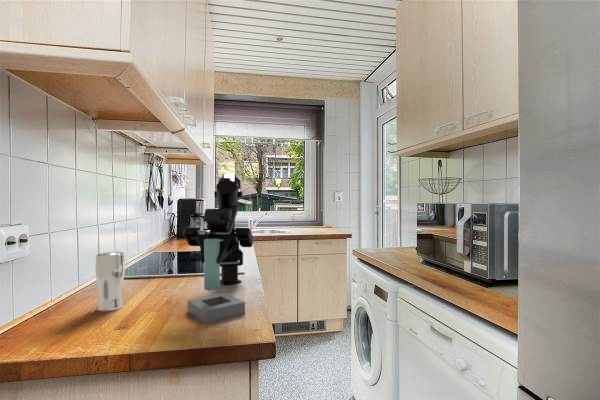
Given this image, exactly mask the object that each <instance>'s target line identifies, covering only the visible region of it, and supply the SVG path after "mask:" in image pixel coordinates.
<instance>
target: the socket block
mask: <svg viewBox="0 0 600 400" xmlns="http://www.w3.org/2000/svg"><path fill="white" fill-rule="evenodd" d="M187 312H188V313H189V314H191V315H192V316H193V317H195V318H196V319H197V320H199V321H200V322H202V323H203V324H205V325H207V324H210V323H214V322H217V321H221V320H225V319H229V318H232V317H235V316H240V315H243V314H246V301H244V300H243V299H240V298H238V297H235V296H234V295H232V294H229V293H227V292H221V293H217V294H211V295H207V296H202V297H198V298H194V299H188V300H187Z"/></svg>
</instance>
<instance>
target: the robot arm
mask: <svg viewBox="0 0 600 400" xmlns="http://www.w3.org/2000/svg"><path fill="white" fill-rule="evenodd" d="M221 174H222V175H221V176H222V177H221V178H219V179H218V183H217V184H216V186H215V189H214V192H213V193H214V198H215V201H216V202H217V204H218V208H205V209H204V214H203V221H202V222H205V223H206V224H207V225H206V229H207V230H209V231H207V230H205V229H201V227H200V226H199V227H197V226H187V227H185V228H184V229H183V232H182V236H183V237H184V239H185V241H186V243H187V244H188V246H190V247H199V248H200V249H199V251H200V262H201V264H204V239H210V238H218V239H220V252H219V255H218V259H217V263H218V264H220V284H222V285H225V286H228V285H234V284H237V283H238V284H239V283H242V280H241V279H239V271H238V269H239V267H241V266H242V265H244V252H243V251H242V248H252V247H253V245H254V236H253V232H252V230H251V228H250V227H236V217H237V214H238V211H239V205H238V203H239V201H240V200H241V199H242V197H243V191H242V190H241V188H242V185H241V183H242V181H241V179H239V178H238V177H237V173H235V172H224V173H221ZM240 247H241V248H240ZM238 266H239V267H238Z"/></svg>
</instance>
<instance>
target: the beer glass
mask: <svg viewBox="0 0 600 400" xmlns="http://www.w3.org/2000/svg"><path fill="white" fill-rule="evenodd" d="M95 257H96V258H95V278H96V284H97V285H96V286H97V290H98V296H99V297H98V298H99V299H98V304H97V311H99V312H104V313H105V312H113V311H117V310H120V309H121V308H123V307H124V303H123V299H122V297H123V296H122V290H123V285H124V284H123V283H124V279H125V271H126V265H125V264H126V261H125V253H124V252H123V251H109V252H108V251H107V252H101V253H97V254H96V256H95Z"/></svg>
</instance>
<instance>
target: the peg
mask: <svg viewBox="0 0 600 400" xmlns="http://www.w3.org/2000/svg"><path fill="white" fill-rule="evenodd" d="M219 252H220V239H218V238H210V239H204V263H203V268H204V269H203V279H204V281H203V282H204V283H203V287H204V288H203V290H204V291H207V292H208V291H209V292H211V291H218V290H220V288H221V283H220V280H221V266H220V264H218V263H217V259H218V255H219Z"/></svg>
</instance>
